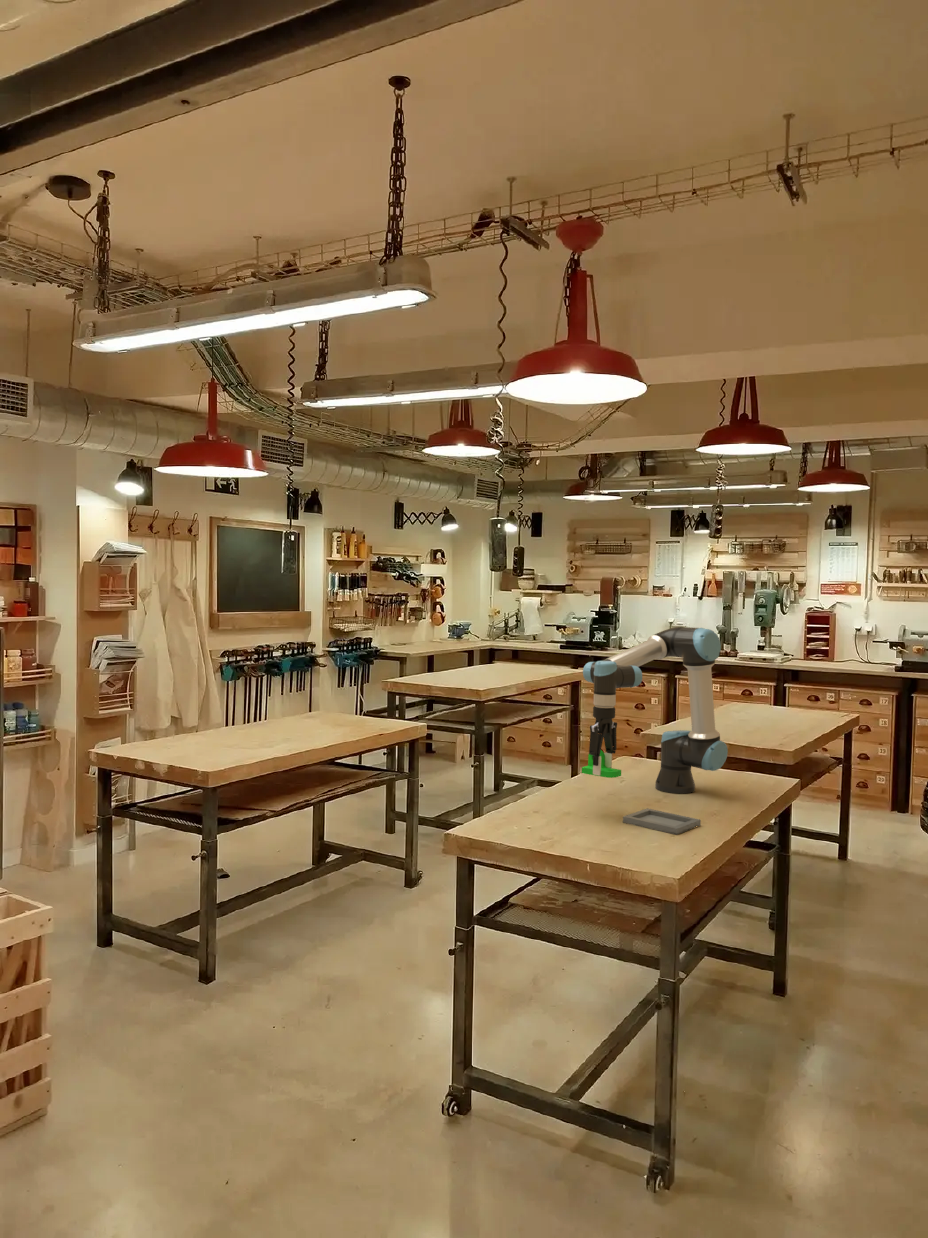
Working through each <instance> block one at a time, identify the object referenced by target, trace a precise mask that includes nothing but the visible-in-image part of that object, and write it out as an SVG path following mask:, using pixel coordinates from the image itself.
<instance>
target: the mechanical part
mask: <svg viewBox="0 0 928 1238" xmlns="http://www.w3.org/2000/svg"><path fill="white" fill-rule="evenodd" d="M604 753H605V752H604V751H603V750H602V749H601V752H600V756H601V775H600V776H599V775H593V755H590V754H589V753H588V755H587V757H588V758H587V765H585V766H582V767H581V774H584V775H590V776H595V777H600V778H601V777H602V778H609V779H613V778H618V777H621V776H622V769H619V768H614V767H612V768H608V767H606V766H605V755H604Z"/></svg>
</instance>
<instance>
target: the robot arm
mask: <svg viewBox="0 0 928 1238" xmlns="http://www.w3.org/2000/svg"><path fill="white" fill-rule="evenodd" d="M721 648H722V643H721V640H720V637H719V636H718V634H717V633H716V632H715V631H714V630H712V629H709V628H704V627H689V626H687V627H686V626H674V627H671V628H667V629H664V630H661V631H660V632H656V633H655V634H652V635H650V636H649V637H648V638H647V640H645V641H643V642H641V643H639V644H637V645H634V646H633V647H630V648H627V649H625V650H623V651H621V652H619V653H616V654H614V655H612V656H610V657H607V658H604V659H602V660H597V661H588V662H587V663H585V665H584V666H583V669H582V674H583V675H582V676H583V678H584V680H585V681H586V682H588V683H592V684H593V705H594V706H593V707H592V717H593V718H595V723H594V725H592V724H591V725H589V731H590V732H589V747H588V749H589V750H588V755H589V754H590V755H593V775H592V776H595V775H599V776H598V777H601V776H600V775H601V756H600V752H601V750H602V746H603V741H604V748H605V752H603V753H604V755H605V766H606V767H608V768H613V754H616V751H617V727H618V722H617V721H613V719H615V717H616V708H615V706H616V705H617V704H616V703H617V701H616V700H617V699H616V698H617V689H622V688H631V689H632V688H635V687H638V686H639V685H641V684H642V681H643V671H642V670H641V668H640V667H641V666H643V665H645V664H647V663H649V662H652V661H654V660H663V659H664V658H673V657H674V658H679V659H680V658H682V666H684V667H685V668H686V670H687V679H688V694H689V695H688V696H689V708H690V721H691V725H690V726H691V730H687V729H686V730H685V729H684V730H681V729H680V730H668V731H667V730H666V731H664V732H663V733H662V735H661V741H660V769H659V772H658V774H657V778H656V780H655V789H656V790H657V791H660V792H665V793H670V794H671V793H672V794H692V793H694V792H695V791H696V784H695V780H694V776H693V773H692V767H693V768H696V769H701V770H704V771H712V772H714V771H718V770H720V769H721V768H722V767H723V766H724V764H725V763H726V760H727V758H728V753H729V752H728V751H729V749H728V746H727V744H726V742H724V741H722V740H721V734H720V731H718V730H717V729H716V722H715V721H716V719H715V706H714V705H715V704H714V690H713V676H712V667H713V666H714V665H715V664H716V660H717V659H718V658H719V656H720V653H721V652H722V651H721V650H722V649H721ZM693 791H694V792H693ZM691 792H692V793H691Z"/></svg>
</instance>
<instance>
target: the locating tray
mask: <svg viewBox="0 0 928 1238" xmlns="http://www.w3.org/2000/svg"><path fill="white" fill-rule="evenodd" d="M701 821H702V819H699V818H694V817H690V816H685V815H680V814H676V813H672V812H671V813H670V812H666V811H662V810H658V809H652V808H648V807H647V808H644V809H642V810H638V811H636V812H633V813H630V814H626V815H624V816H622V823H625V824H628V825H631V826H632V825H633V826H636V827H641V828H645V829H649V830H655V831H658V832H663V833H667V834H671V835H672V834H673V835H677V836H678V835H681V834H683V833H685V832H687V831H688V832H689V831H690V829H691V830H692V828H693V829H695V828H694V827H696V826H698V827H701V824H702V823H701ZM696 828H697V827H696ZM680 833H681V834H680Z"/></svg>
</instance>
